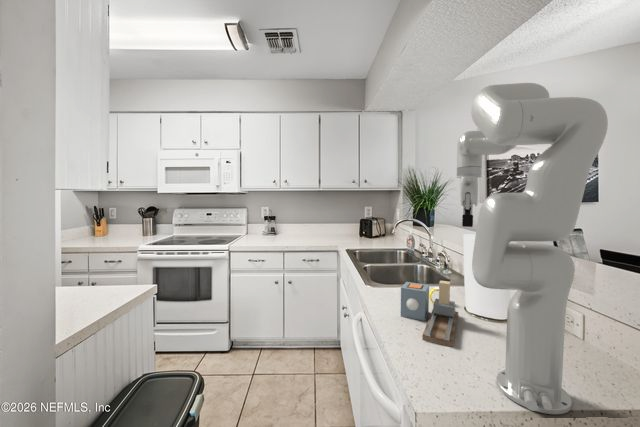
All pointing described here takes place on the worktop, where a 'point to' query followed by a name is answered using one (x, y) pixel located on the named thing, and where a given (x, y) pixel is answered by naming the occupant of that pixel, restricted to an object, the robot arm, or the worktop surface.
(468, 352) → the worktop surface
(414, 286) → the button
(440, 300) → the carriage
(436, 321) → the rail board
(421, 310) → the end cabinet
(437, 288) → the watch
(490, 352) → the worktop surface
